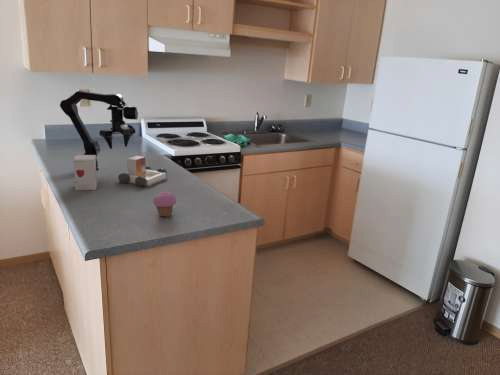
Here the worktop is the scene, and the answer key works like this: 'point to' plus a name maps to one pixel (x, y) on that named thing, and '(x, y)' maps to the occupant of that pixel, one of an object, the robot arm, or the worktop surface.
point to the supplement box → (85, 172)
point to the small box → (136, 166)
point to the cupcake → (164, 203)
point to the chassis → (149, 180)
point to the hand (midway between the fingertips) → (118, 147)
